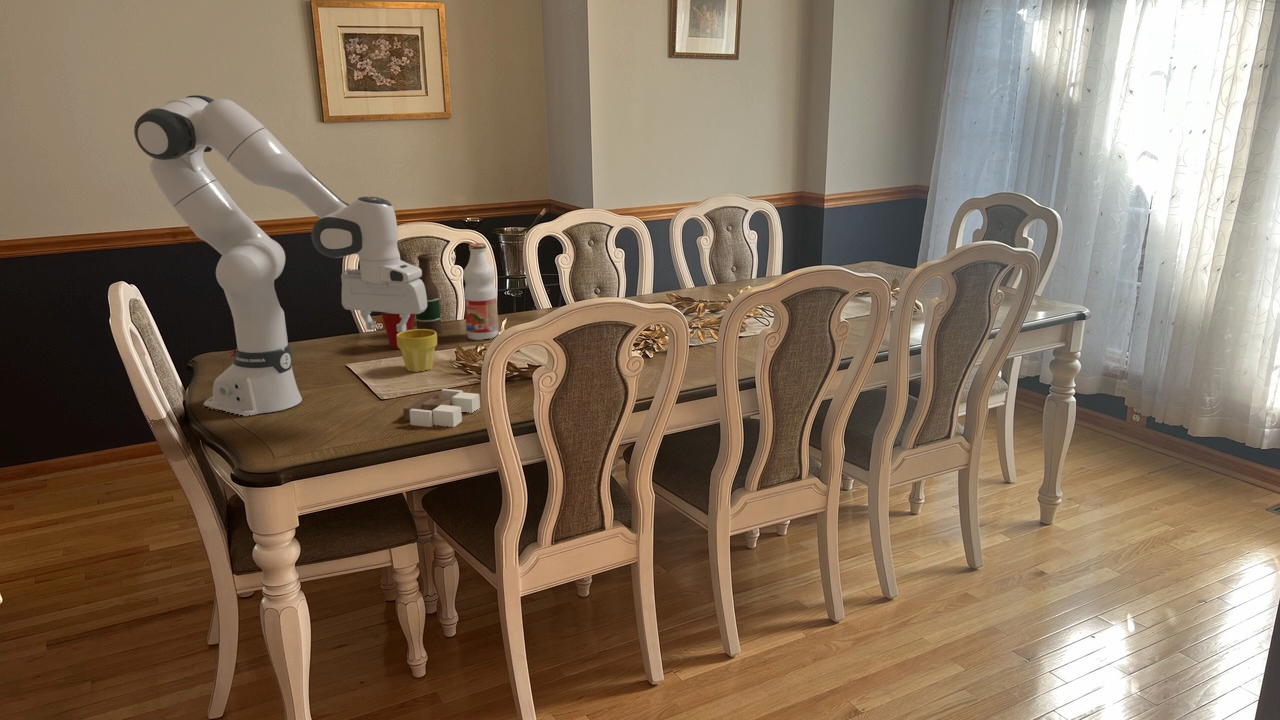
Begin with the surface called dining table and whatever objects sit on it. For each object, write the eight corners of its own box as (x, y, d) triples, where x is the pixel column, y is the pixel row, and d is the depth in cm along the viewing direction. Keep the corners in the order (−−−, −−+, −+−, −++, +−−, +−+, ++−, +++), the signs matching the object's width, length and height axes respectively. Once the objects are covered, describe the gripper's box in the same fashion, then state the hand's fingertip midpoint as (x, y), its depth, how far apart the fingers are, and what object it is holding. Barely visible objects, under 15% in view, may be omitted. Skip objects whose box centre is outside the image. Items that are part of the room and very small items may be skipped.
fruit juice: (503, 338, 278) (498, 245, 270) (473, 342, 273) (467, 248, 265) (492, 331, 285) (486, 240, 277) (462, 335, 281) (456, 243, 273)
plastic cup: (415, 351, 264) (412, 310, 261) (377, 351, 265) (374, 310, 261) (425, 341, 275) (421, 301, 271) (388, 341, 275) (385, 302, 272)
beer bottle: (412, 335, 281) (405, 257, 274) (422, 329, 289) (416, 252, 282) (436, 336, 280) (430, 257, 273) (446, 330, 287) (440, 253, 281)
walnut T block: (404, 420, 210) (402, 408, 210) (428, 405, 221) (427, 393, 220) (435, 423, 208) (434, 410, 207) (458, 407, 218) (457, 395, 217)
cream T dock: (410, 424, 208) (409, 410, 207) (444, 402, 222) (443, 388, 221) (451, 429, 205) (449, 414, 204) (482, 406, 219) (481, 392, 218)
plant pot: (422, 360, 256) (420, 326, 253) (447, 367, 249) (444, 332, 247) (391, 369, 248) (388, 334, 245) (415, 376, 242) (412, 340, 239)
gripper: (332, 270, 208) (339, 330, 212) (413, 275, 202) (418, 336, 206) (348, 265, 214) (355, 324, 218) (428, 269, 208) (432, 329, 212)
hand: (386, 330), depth 212 cm, fingers open, 6 cm apart
